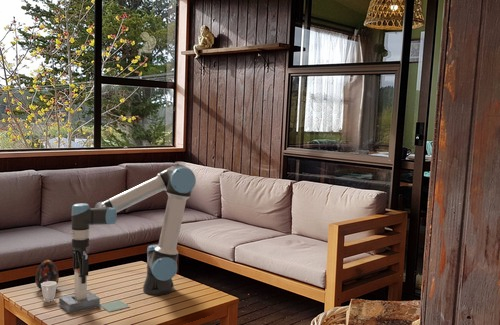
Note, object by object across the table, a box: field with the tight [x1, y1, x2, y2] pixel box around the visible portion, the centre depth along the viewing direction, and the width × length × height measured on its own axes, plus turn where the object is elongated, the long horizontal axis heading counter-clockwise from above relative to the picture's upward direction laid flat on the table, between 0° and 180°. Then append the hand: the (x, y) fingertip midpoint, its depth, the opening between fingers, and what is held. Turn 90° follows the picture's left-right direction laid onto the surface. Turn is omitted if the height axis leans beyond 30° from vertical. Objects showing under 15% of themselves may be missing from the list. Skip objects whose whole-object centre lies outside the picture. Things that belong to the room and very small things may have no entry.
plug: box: [74, 268, 88, 301], centre depth 234 cm, size 4×4×14 cm
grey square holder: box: [58, 290, 101, 314], centre depth 234 cm, size 14×12×4 cm
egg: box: [34, 259, 60, 292], centre depth 254 cm, size 11×11×15 cm
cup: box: [41, 281, 58, 303], centre depth 239 cm, size 7×10×8 cm
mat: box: [100, 299, 130, 313], centre depth 236 cm, size 10×10×1 cm
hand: (80, 288), depth 234 cm, fingers closed on plug, 4 cm apart
